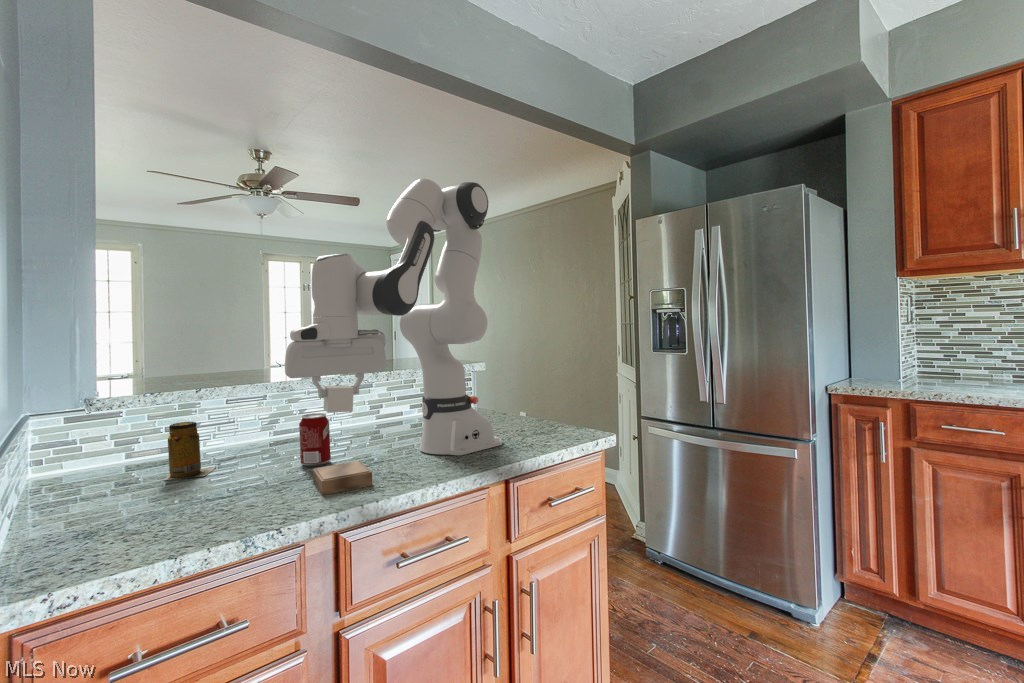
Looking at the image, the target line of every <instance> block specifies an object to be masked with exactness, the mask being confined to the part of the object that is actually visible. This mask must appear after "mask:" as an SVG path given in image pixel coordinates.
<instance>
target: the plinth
mask: <svg viewBox="0 0 1024 683" xmlns="http://www.w3.org/2000/svg"><path fill="white" fill-rule="evenodd" d="M312 482H313V484H314V485H315V487H316V488H317V489H318V492H319V493H320V494H321V496H326V495H330V494H336V493H340V492H346V491H350V490H356V489H361V488H365V487H370V486H371V487H372V486H373V471H372V470H370V469H369V468H368V467H367V466H366V465H365V464H363V463H362V461H360V460H355V461H349V462H345V463H337V464H331V465H326V466H318V467H314V468H312Z"/></svg>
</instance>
